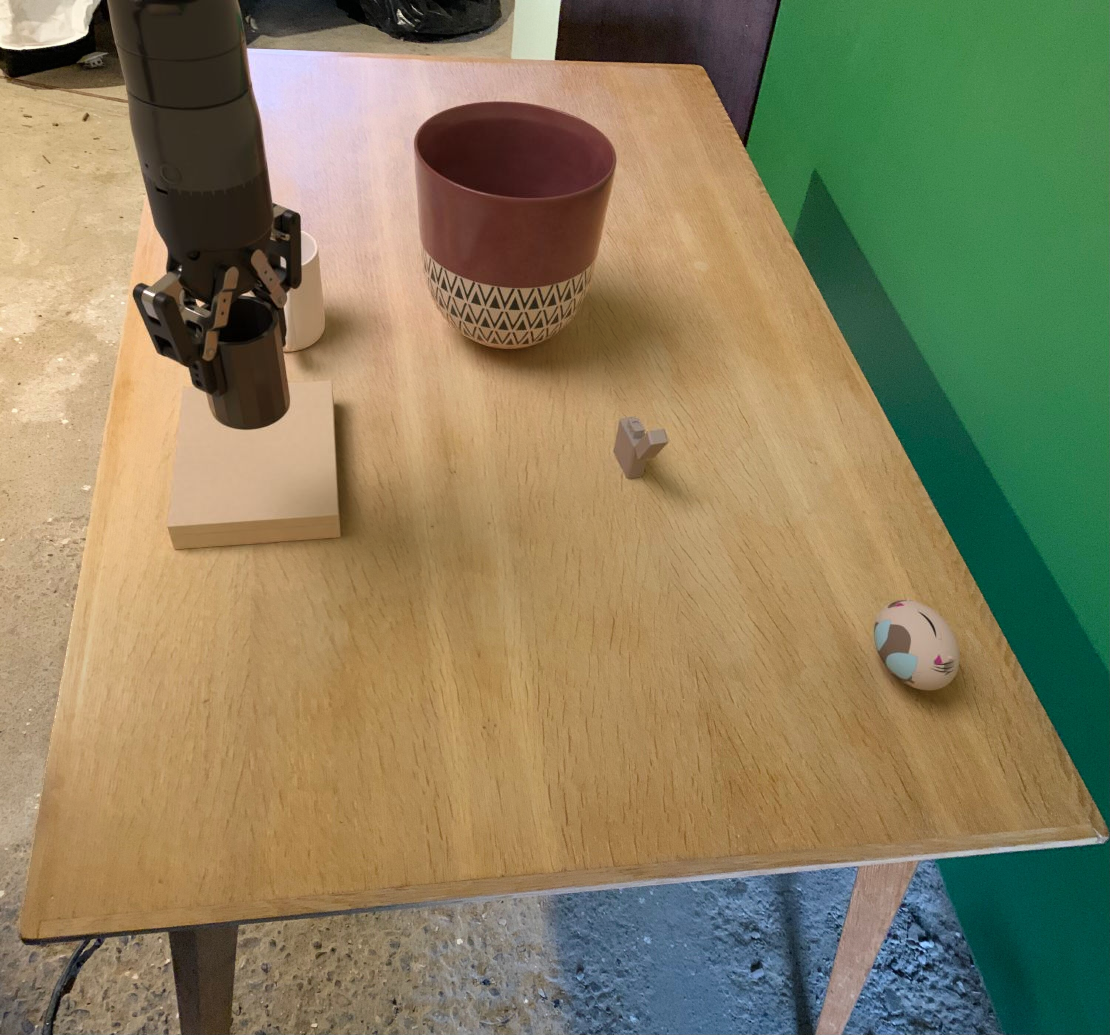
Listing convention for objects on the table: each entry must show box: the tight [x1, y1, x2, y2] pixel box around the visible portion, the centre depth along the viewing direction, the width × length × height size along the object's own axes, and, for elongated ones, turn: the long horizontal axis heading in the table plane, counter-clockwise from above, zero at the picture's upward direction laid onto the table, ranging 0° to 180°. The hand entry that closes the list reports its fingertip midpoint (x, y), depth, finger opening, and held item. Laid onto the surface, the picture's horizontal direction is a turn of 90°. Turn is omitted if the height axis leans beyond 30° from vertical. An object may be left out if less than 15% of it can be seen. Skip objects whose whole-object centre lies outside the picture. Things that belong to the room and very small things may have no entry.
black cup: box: [196, 295, 290, 430], centre depth 71 cm, size 6×6×8 cm
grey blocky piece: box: [613, 415, 669, 480], centre depth 90 cm, size 7×2×8 cm, turn 18°
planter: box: [413, 100, 618, 350], centre depth 99 cm, size 20×20×21 cm
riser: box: [166, 380, 342, 550], centre depth 87 cm, size 18×14×3 cm
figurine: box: [873, 596, 961, 691], centre depth 78 cm, size 8×6×7 cm
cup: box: [242, 229, 326, 353], centre depth 98 cm, size 8×12×10 cm
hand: (243, 367), depth 71 cm, fingers closed on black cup, 6 cm apart
